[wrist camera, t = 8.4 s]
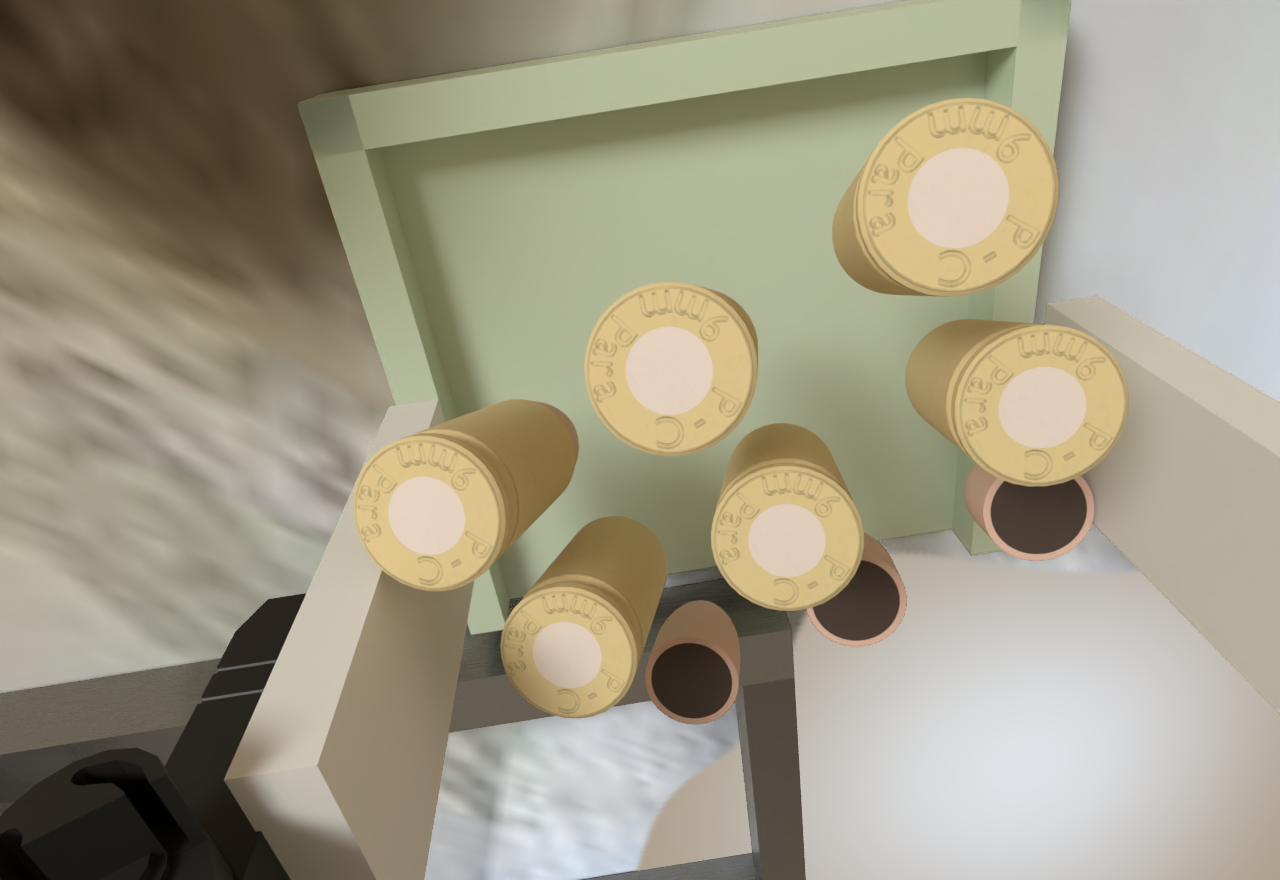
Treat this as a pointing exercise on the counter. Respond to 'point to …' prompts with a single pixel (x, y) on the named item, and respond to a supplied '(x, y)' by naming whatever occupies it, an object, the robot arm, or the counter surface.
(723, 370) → the ammunition
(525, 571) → the tray pad
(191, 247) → the counter surface
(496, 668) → the gray rectangular frame
